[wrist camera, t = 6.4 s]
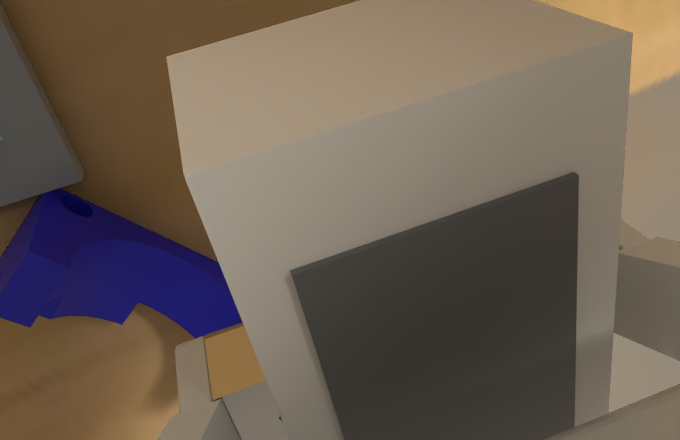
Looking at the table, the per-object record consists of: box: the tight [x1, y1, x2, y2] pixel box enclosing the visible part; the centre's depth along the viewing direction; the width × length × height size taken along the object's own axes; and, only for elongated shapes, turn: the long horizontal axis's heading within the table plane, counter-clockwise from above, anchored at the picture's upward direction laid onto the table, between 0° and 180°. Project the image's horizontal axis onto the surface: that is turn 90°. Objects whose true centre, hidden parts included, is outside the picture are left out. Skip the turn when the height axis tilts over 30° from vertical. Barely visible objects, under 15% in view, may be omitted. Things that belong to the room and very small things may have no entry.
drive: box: [166, 0, 633, 440], centre depth 11 cm, size 5×10×5 cm, turn 13°
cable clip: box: [0, 188, 243, 339], centre depth 27 cm, size 12×4×6 cm, turn 53°
